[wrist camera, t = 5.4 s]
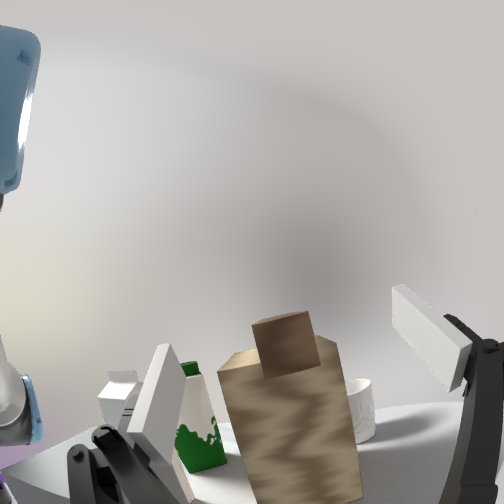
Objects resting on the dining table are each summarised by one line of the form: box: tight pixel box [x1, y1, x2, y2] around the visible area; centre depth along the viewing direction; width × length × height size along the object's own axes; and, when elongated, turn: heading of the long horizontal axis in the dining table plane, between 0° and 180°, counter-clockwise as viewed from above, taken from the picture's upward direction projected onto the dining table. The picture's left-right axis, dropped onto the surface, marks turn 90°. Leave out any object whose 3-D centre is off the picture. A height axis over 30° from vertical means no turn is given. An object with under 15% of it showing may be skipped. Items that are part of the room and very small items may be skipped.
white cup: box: [345, 379, 376, 444], centre depth 40 cm, size 8×8×10 cm
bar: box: [252, 311, 321, 380], centre depth 28 cm, size 4×20×4 cm, turn 176°
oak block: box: [217, 334, 363, 504], centre depth 30 cm, size 12×14×21 cm
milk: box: [98, 370, 195, 503], centre depth 29 cm, size 6×6×22 cm
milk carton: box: [174, 361, 227, 473], centre depth 43 cm, size 9×9×20 cm
